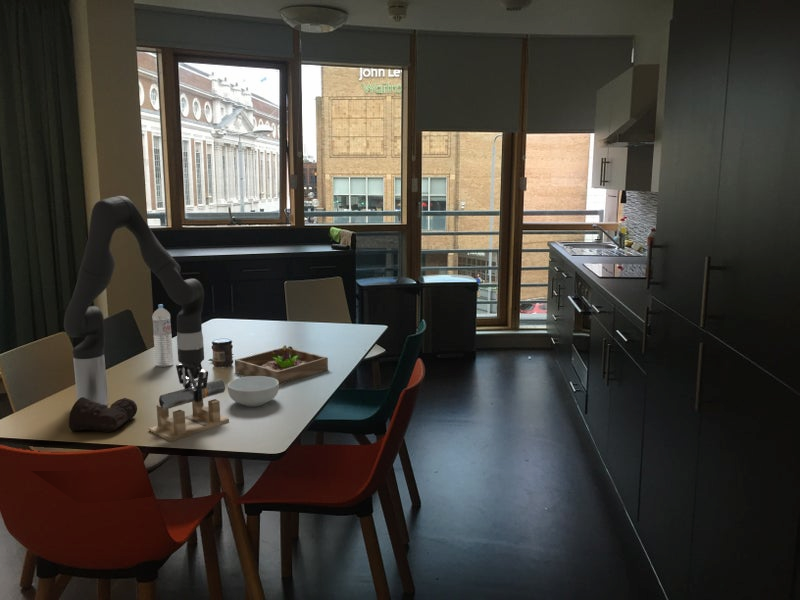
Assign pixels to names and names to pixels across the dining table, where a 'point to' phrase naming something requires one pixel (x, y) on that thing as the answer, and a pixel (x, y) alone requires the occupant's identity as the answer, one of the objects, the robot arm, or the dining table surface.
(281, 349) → the planter box
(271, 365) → the plant
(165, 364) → the water bottle
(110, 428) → the dark brown boot
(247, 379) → the cereal bowl
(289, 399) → the dining table surface
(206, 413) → the cradle board
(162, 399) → the tube
